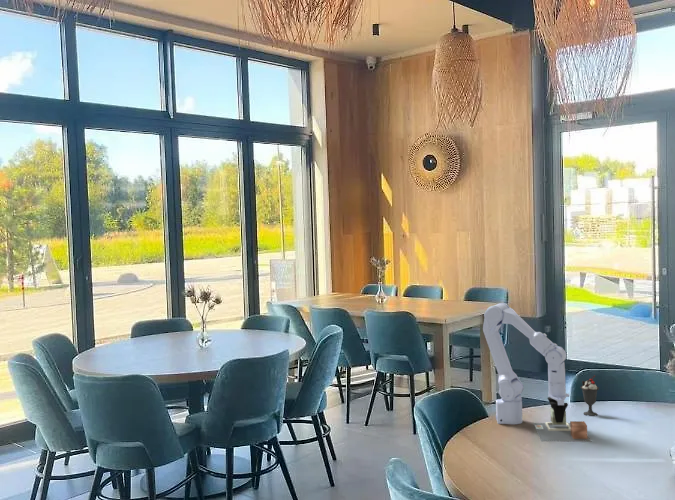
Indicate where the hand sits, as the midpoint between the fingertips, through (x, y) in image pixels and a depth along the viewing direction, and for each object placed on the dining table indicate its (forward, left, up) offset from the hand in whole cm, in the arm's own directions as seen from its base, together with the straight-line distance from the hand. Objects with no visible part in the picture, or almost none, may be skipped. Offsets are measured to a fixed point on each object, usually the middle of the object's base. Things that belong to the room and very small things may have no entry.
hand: (558, 420), depth 231 cm
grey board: (0, -5, -3) cm, 6 cm away
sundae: (+15, +19, -4) cm, 24 cm away
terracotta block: (+5, -10, -3) cm, 11 cm away
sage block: (0, 0, -1) cm, 1 cm away
